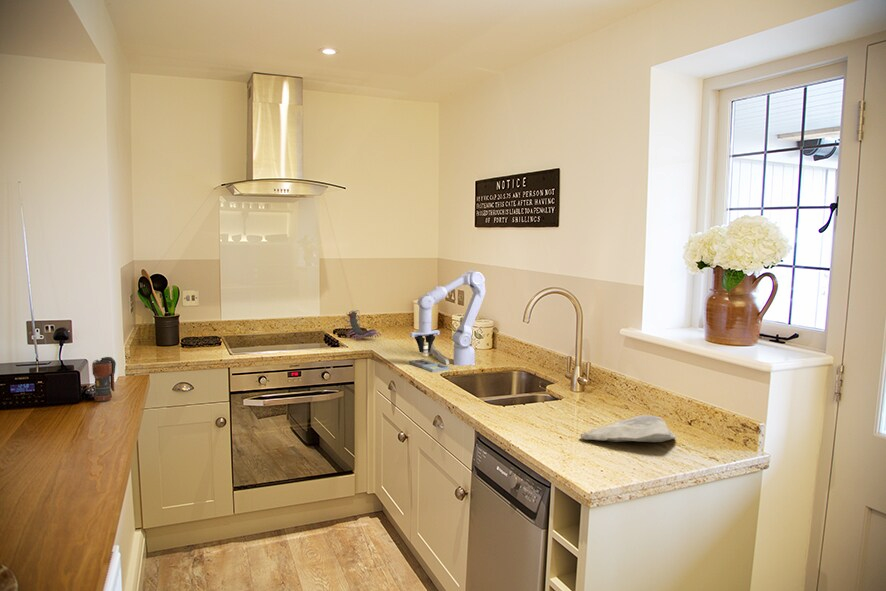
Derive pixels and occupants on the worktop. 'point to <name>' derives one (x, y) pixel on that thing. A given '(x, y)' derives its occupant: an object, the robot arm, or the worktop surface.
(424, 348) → the cylinder
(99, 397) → the grenade
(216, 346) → the worktop surface
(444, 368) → the parts tray
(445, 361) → the wrench
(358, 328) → the toy
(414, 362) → the fuse block
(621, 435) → the decorative stone
